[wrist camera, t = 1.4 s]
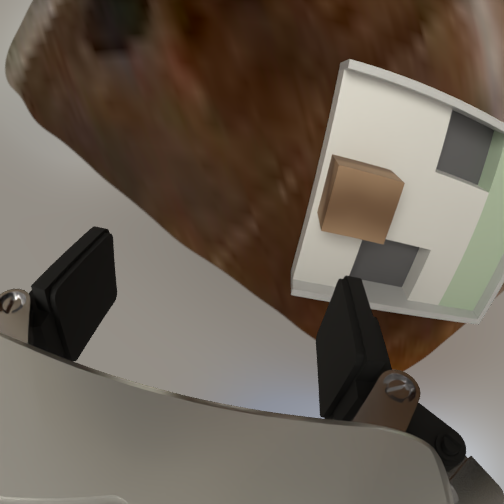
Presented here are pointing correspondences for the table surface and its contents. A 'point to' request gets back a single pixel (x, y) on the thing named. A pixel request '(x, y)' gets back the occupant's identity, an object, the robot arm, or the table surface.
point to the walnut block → (359, 199)
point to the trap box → (412, 200)
